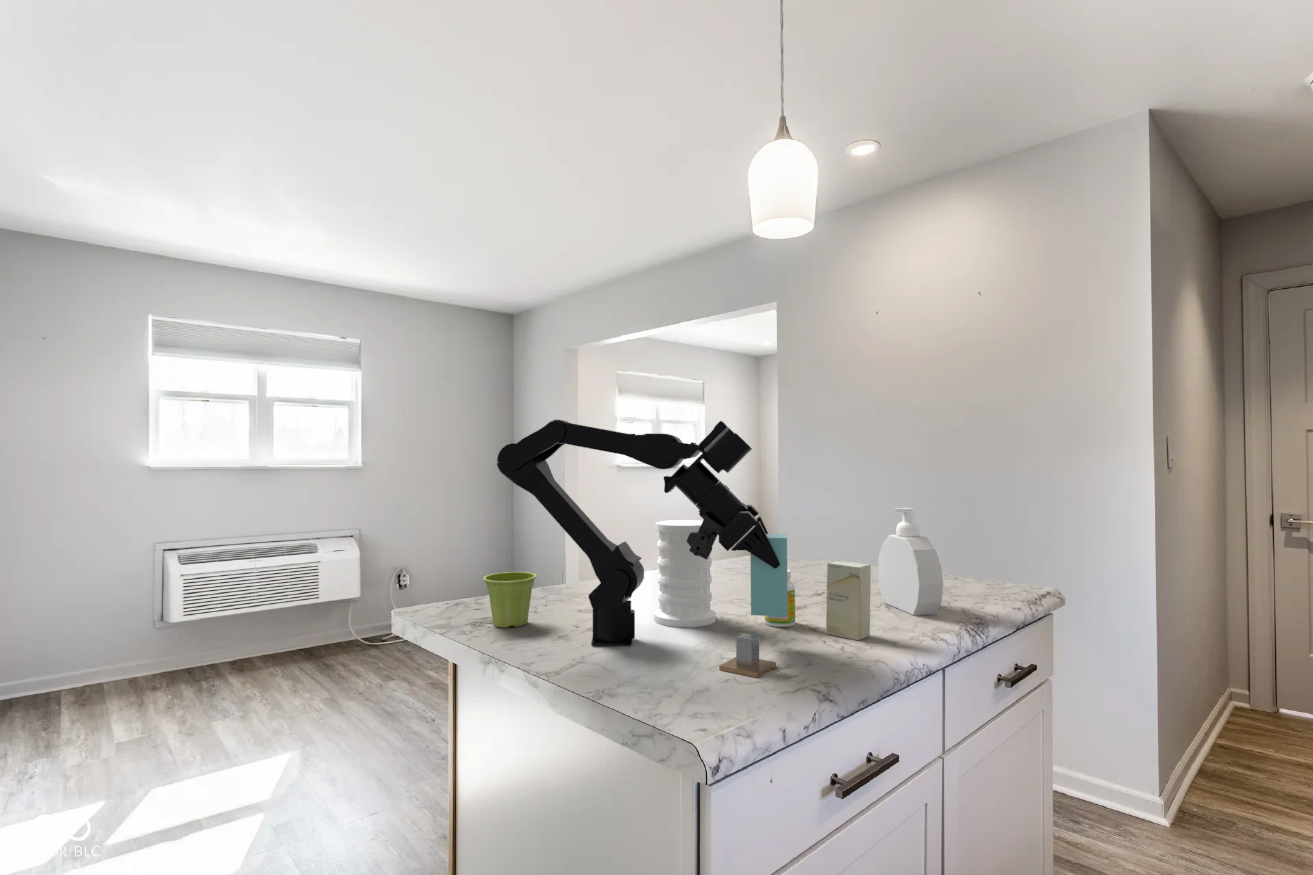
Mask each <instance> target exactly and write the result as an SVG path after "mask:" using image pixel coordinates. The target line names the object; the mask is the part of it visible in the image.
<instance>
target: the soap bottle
mask: <svg viewBox="0 0 1313 875" xmlns="http://www.w3.org/2000/svg"><path fill="white" fill-rule="evenodd" d="M893 512H895V513H902V516H901V517H902V519H901V520H902V521H901V522H898V524H897V525H896V528H895V530H896V532H895V534H889V535H888V537H887V538H886V539H885V540H884V541H883V543H882V544H881V549H880V551H879V554H878V562H877V563H878V564H877V576H878V586H879V587H878V588H879V591H880V596H881V597H882V601H883V603H884V604H886V605H889V606H890V607H892V606H893V607H892V608H895V609H897V608H898V610H899V609H900V611H902V610H903V611H902V612H904V613H907V614H909V615H912V616H914V615H918V616H933V615H934V614H936V615H937V614H938V612H939V609H940V607H941V603H942V600H943V593H944V592H943V590H944V589H943V588H944V580H943V571H942V565H941V564H942V563H941V562H940V558H939V556H938V552H937V550H936V548H935V547H934V545H933V544H932V543H931V541H930V539H929V538H928V537H925V536H921V529H920V526H919V524H918V523H916V522H915V521H914V508H912V507H896V508H893Z"/></svg>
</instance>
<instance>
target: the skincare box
mask: <svg viewBox="0 0 1313 875" xmlns="http://www.w3.org/2000/svg"><path fill="white" fill-rule="evenodd" d="M826 566H827V570H826V618H825V619H826V620H825V622H826V625H825V627H826V628H825V629H826V630H825V633H826V635H827V634H828V635H832V636H836V637H841V638H845V639H848V640H849V639H850V640H853V641H861V640H863V639H866V638H867V637H870V636H871V635H870V634H871V633H870V632H871V570H872V569H871V564H868V563H861V562H860V563H859V562H854V561H853V562H852V561H846V560H834V561H829V562H827V563H826Z"/></svg>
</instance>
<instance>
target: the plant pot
mask: <svg viewBox="0 0 1313 875" xmlns="http://www.w3.org/2000/svg"><path fill="white" fill-rule="evenodd" d="M537 577H538V576H537V574H536V573H534V572H527V571H507V572H497V573H491V574H487V575H486V576H484V577H483V581H484V582H485V585H486V589H487V591H488V597H489V603H490V611H491V618H492V623H493V626H494V627H496V628H504V629H507V628H509V627H511V626H513V627H516V628H518V627H521V626H524V625H526V624H528V621H529V612H530V607H531V606H530V605H531V597H532V591H533V590H532V589H533V587H534V584H535V583H534V582H535V579H536V578H537Z"/></svg>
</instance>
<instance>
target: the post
mask: <svg viewBox="0 0 1313 875" xmlns="http://www.w3.org/2000/svg"><path fill="white" fill-rule="evenodd" d="M735 640H736V641H735V642H736V643H735V644H736V649H735V650H736V651H735V652H736V655H735V657H733V658H731V659H729V660H727V661H725V662H723V663H721V664H720V665H718V668H719V669H718V670H719V671H724V672H729V673H734V674H737V675H742V676H747V677H753V678H759V677H761V676H762V675H765V674H766V673H768V672H769V671H771V670H773V669H774V668H776V667H777V662H776V661H772V660H766V659H761V658H760V635H755V634H751V633H745V632H744V633H741V634H740V635H738V636H736V637H735Z"/></svg>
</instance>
